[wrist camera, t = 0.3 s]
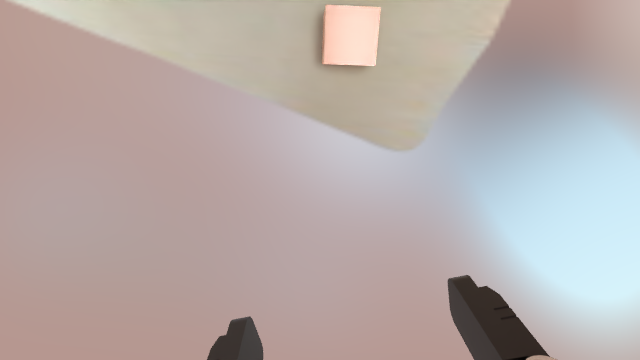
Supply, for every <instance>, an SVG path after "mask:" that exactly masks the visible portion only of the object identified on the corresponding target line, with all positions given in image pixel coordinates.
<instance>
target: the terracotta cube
mask: <svg viewBox="0 0 640 360" xmlns="http://www.w3.org/2000/svg"><path fill="white" fill-rule="evenodd" d="M380 11H381V7H364V6H343V5H326V6H325V10H324V19H323V47H322V64H336V65H361V66H376V55H377V44H378V33H379V22H380Z"/></svg>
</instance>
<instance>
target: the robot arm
mask: <svg viewBox="0 0 640 360" xmlns="http://www.w3.org/2000/svg"><path fill="white" fill-rule="evenodd" d="M448 291H449V303H450V311H451V315H452V318H453V321H454V323H455V325H456V327H457V329H458V331H459V332H460V334H461V336H462V338H463V340H464V342H465V344H466V345H467V347H468V349H469V351H470V353H471V354H472V356H473V358H474V360H557V359H554V358H552V357H550V356H549V355H548V354H547V353H546V352H545V350H544V349H543V348H542V347H541V345H540V344H539V343H538V342H537V340H536V339H535V338H534V337H533V335H532V334H531V333H530V332H529V331H528V329H527V328H526V327H525V326H524V324H523V323H522V322H521V320H520V319H519V318H518V317H516V314H515V313H514V312H513V311H512V309H511V308H509V306H508V304H507V303H506V302H505V301H504V300H503V298H502V297H501V296H500V295H499V294H498V293H497V292H495V291H493V290H492V289H490V288H488V287H487V286H484V287H479V288H478V287H477V286H476V284H475V283H474V281H473V280H472V279H471V278H470V276H468V275H465V276H460V277H454V278H449V279H448ZM207 360H263V347H262V343H261V340H260V338H259V335H258V333H257V330H256V327H255V325H254V322H253V320H252V318H251V317H245V318H240V319H235V320H232V321H231V322H230V324H229V328H228V331H227V334H226V335H224V336H220V337H219V338H218V339H217V341H216V342H215V344H214V345H213V346H212V348H211V350H210V353H209V356H208V359H207Z"/></svg>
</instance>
